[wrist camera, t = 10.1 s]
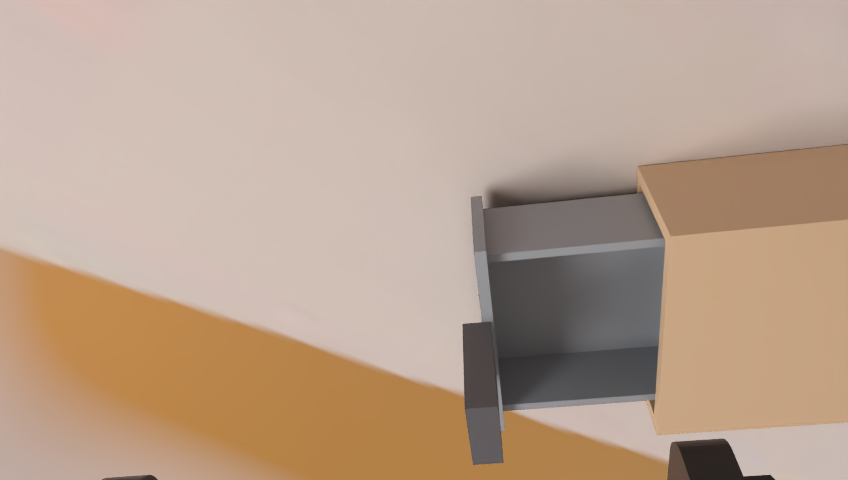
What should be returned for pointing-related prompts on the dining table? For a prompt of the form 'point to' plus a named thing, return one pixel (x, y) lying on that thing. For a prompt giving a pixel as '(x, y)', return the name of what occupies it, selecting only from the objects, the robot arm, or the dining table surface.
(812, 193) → the mailer sleeve
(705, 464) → the robot arm
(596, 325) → the tray
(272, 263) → the dining table surface
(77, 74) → the dining table surface
